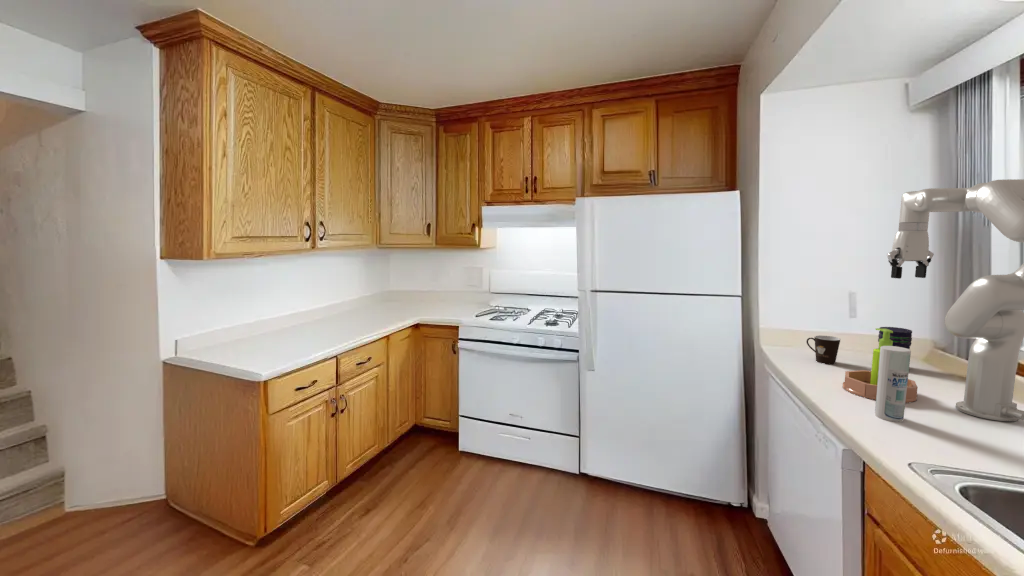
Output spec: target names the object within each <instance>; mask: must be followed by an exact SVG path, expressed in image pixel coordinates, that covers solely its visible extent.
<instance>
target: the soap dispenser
mask: <svg viewBox="0 0 1024 576" xmlns="http://www.w3.org/2000/svg"><path fill="white" fill-rule="evenodd" d="M875 330H876V331H883V338H882V339H879V342H878V348H874V349H873V352H872V361H871V362H872V363H871V370H870V371H871V382H870V384H873V385H877V383H878V370H879V358H880V347H881V346H892V344H893V341H892V340H891V339H890V333H893V331H891V330H889V329H884V328H880V327H879V328H875Z"/></svg>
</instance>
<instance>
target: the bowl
mask: <svg viewBox="0 0 1024 576" xmlns="http://www.w3.org/2000/svg"><path fill="white" fill-rule="evenodd" d="M844 372H845V373H844V381H843V382H842V388H843V390H844V391H846V392H847V391H848V392H847V393H849V392H850V393H849V394H852V395H854V394H855V395H854V396H857V395H858V396H857V397H860V396H862V397H861V398H864V397H865V399H868V398H869V399H868V400H872V399H874V400H873V401H876V395H877V385H873V384H870V382H871V370H865V369H861V370H860V369H859V370H846V371H844ZM917 400H918V386H917V383H916V381H915V380H913V379H909V378H908V383H907V392H906V401H905V404H909V402H911V403H914V401H915V402H916V401H917Z"/></svg>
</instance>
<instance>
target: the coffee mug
mask: <svg viewBox="0 0 1024 576" xmlns="http://www.w3.org/2000/svg"><path fill="white" fill-rule="evenodd" d="M809 340H813V341H814V348H813V347H812V346H811V345H810V343H809ZM840 343H841V338H839V337H836V336H833V335H832V336H831V335H815V336H814V337H808V338H807V339H806V345H807V346H808V347H809V349H811V350H812V351H813V352H814V353H815V362H816V361H817V362H816V363H819V364H822V363H825V364H824V365H835V364H836V361H837V356H838V352H839V347H840ZM834 363H835V364H834Z"/></svg>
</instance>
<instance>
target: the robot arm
mask: <svg viewBox="0 0 1024 576" xmlns="http://www.w3.org/2000/svg"><path fill="white" fill-rule="evenodd" d="M901 195H902V196H901V201H900V208H899V209H900V210H899V221H898V231H897V232H896V233H895V235H894V238H893V242H892V246H891V247H892V248H891V251H890V252H888V253H886V256H887V259H888V261H887V262H888V263H889V265H890V267H891V273H890V278H891V279H899V280H900V279H902V275H903V266H902V265H903V264H904V263H905V262H915V263H916V264H917V265H915V273H914V277H915V278H917V279H918V278H921V279H925V278H927V271H928V269H927V268H928V266H930V265H929V264H930V263H931V262H932V259H933V257H934V256H935V254H934V252H932V251H930V250H929V249H930V245H929V243H930V239H929V231H928V230H929V220H930V213H959V212H960V213H961V212H962V213H965V212H974V213H979V214H980V213H981V214H982V215H983V216H984V217H985V218H986V219H987V220H988V221H989V222H990V223H991V224H992V225H993V226H994V227H995V228H996V229H997V230H998V231H999V232H1000V233H1001V234H1002V235H1003V237H1006V238H1008V239H1009V240H1012V241H1014V242H1016V243H1017V242H1018V243H1024V178H1021V179H1018V178H1017V179H996V180H995V179H994V180H990V181H988V182H980V183H977V184H975V185H972V186H971V187H958V188H957V187H956V188H955V187H953V188H952V187H947V188H946V187H944V188H943V187H942V188H941V187H936V188H931V187H930V188H924V189H921V190H911V191H906V192H904V193H903V194H901ZM1023 311H1024V262H1023V263H1022V264H1021V265H1020V266H1019V267H1018V268H1017V269H1016V270H1015V271H1014V272H1012V273H1008V274H989V275H984V276H981V277H979V278H977V279H976V280H974V281H972V282H971V283H970V284H969V285H968V286H967V288H966V289H964V291H963V292H962V293H961V295H960V296H959V297H958V298H957V300H956V301H955V302H954V303H953V304H952V305H951V307H950V309H948V311H947V313H946V314H945V319H944V326H945V329H946V330H947V332H948V333H949V334H951V335H952V336H953V337H957V338H959V339H960V338H961V339H974V341H973V343H972V344H971V345H970V348H969V352H968V353H969V354H968V360H967V367H966V376H965V377H966V378H965V387H964V392H963V393H964V395H963V401H958V402H956V403H955V409H957V410H958V411H960V412H962V413H964V414H967V415H969V416H974V417H977V418H981V419H986V420H991V421H992V420H993V421H996V422H997V421H999V422H1016V421H1018V420H1022V421H1024V410H1022V409H1019V408H1017V407H1018V403H1017V402H1013V400H1014V399H1013V398H1014V391H1015V390H1014V389H1015V385H1016V383H1015V382H1016V374H1017V368H1018V362H1019V355H1020V349H1021V345H1022V342H1023V340H1024V312H1023Z"/></svg>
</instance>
